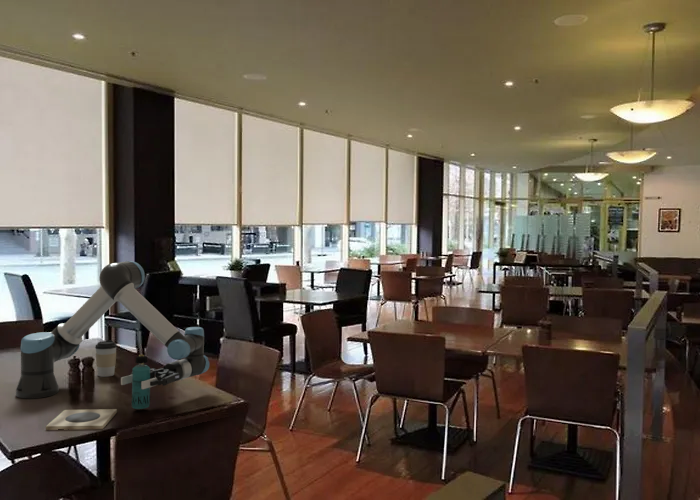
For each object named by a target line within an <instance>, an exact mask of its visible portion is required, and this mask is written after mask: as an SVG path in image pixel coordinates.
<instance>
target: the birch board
mask: <svg viewBox="0 0 700 500" xmlns="http://www.w3.org/2000/svg"><path fill="white" fill-rule="evenodd" d="M117 413H118V409H117V408H112V409H111V408H110V409H109V408H107V409H103V408H102V409H99V408H98V409H97V408H96V409H91V408H90V409H64V410H63V411H61V413H59V414H58V415H57V416H56V417H55V418H54V419H52V420H51V421H50V422H49V423H48V424H47V425H46V426H45V430H46V431H58V429H64V430H65V431H67V430H68V429H69V430H104V428H106V425H108V423H109V422H111V420H112V419H113V418H114V416H115V415H116V414H117ZM64 430H63V431H64Z"/></svg>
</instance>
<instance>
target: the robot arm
mask: <svg viewBox="0 0 700 500" xmlns="http://www.w3.org/2000/svg"><path fill="white" fill-rule="evenodd" d="M145 278H146V276H145V270H144V268H143V266H141V264H139V263H138V262H136V261H130V260H126V261H120V262H112V263H109V264H107V265H105V266H104V267H103V268H102V270H101V271H100V274H99V284H100V287H99V288H98V289H97V290H96V291H95V292H94V293H93V294H92V295H91V296H90V297H89V298H88V299H87V300H86V301H85V303H83V304H82V306H80V308H78V310H77V311H76V312H74V314H73V315H72V316H71V317H70V318H69V319H68V320H67V321H66V322H64V323H63V322H61V323H59V324H58V325H57V326H56V327H55V328H54V329H53V330H52V331H51V332H49V331H48V332H47V331H45V332H44V331H42V332H39V331H38V332H36V333H34V332H33V333H30V334H27V335H25V336H24V337H22V338H21V341H20V377H19V379H18V382H17V383H18V384H17V386H16V389H15V397H17V398H19V399H29V400H30V399H40V398H41V399H42V398H48V397H51V396H52V397H53V396H54V395H56V394H58V393H59V383H58V381H57V378H56V374H55V363H56V362H58V361H61V360H64V359H68V358H70V357H71V356H73V355H74V354H76V352H78V351H79V348H80V344H82V342H83V336H84V335H85V334H86V333H87V332H88V331H89V330H90V329H91V328H92V327H93V326H94V325H95V324H96V323H97V322H98V321H99V320H100V319H101V318H102V317H103V315H104V314H105V313H107V311H108V310H110V309H111V307H112V306H113V305H114V304H115V303H116V302H119V303H120V304H121V305H122V306H123V307H124V308H125V309H127V311H128V312H129V313H131V315H132V316H134V318H136V319H137V320H138V321H139V323H141V325H143V326H144V327H145V328H146V329H147V330H148V331H149V332H150V333H151V334H152V335H153V336H155V338H156V339H157V340H159V341H160V342H161V343H162V344H163V346H165V347H166V352H167V354H168V356H169V357H170V358H171V359H172V360H175V361H172V362H171V361H170V362H168V363H166V364H165V365H164V366H163V368H162V367H161V368H158V369H156V368H154V367H153V368H150V379H149V380H145V381H142V382H141V389H146V388H149V387H150V388H152V387H153V388H154V387H156V386H161V385H162V386H163V387H164V386H168V385H169V384H172V383H176V382H178V381H184V380H185V379H187V378H192V377H195V376H199V375H202V374H203V373H206V372H207V371H208V370H209V369H210V361H209V357H208V356H206V355H205V354H204V353H205V352H204V351H205V350H204V348H205V347H204V346H205V330H204V328H203V327H200V326H190V327H186V328H185V330H184V334H183V333H181V332H180V330H178V329H177V328H176V327H175V326H174V325H173V324H172V323H171V322H170V321H169V320H168V319H167V318H166V317H165V316H164V315H163V314H162V313H161V312H160V311H159V310H158V309H157V308H156V307H155V306H153V304H151V303H150V302H149V301H148V300H147V299H146V297H145V296H143V294H141V293H140V292H139V291H138V290H137V289H138V288H139V287H141V286H142V285H143V283H144V282H145V280H146V279H145ZM132 375H133V371H132V372H131V374H130V375H126V376H122V377H120V385H121V386H125V385H129V384H132Z"/></svg>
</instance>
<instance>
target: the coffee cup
mask: <svg viewBox="0 0 700 500" xmlns="http://www.w3.org/2000/svg"><path fill="white" fill-rule="evenodd" d="M117 347H118V346H117V343H115V341H114V340H113V339H112V340H111V339H108V340H106V341H105V340H103V341H99V342H97V344H95V347H94V348H95V361H96V362H95V363H96V370H97V376H98V377H102V378H103V377H105V378H106V377H112V376H115V369H116V367H115V366H116V362H117V361H116V359H117Z"/></svg>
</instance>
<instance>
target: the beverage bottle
mask: <svg viewBox="0 0 700 500" xmlns="http://www.w3.org/2000/svg"><path fill="white" fill-rule="evenodd" d="M135 363H136V365H135V366H134V367H132V369H131V370H132V372H133V375H132V374H131V375H132V383H131V408H132V409H136V410H140V409H141V410H142V409H147V408H149V407H150V405H151V404H150V403H151V387H149V388H146V389H141V382H142V381H145V380H149V379H150V369H151V368H150V366H148V365H147V364H146V363H148V357H147V356H146V355H144V356H143V355H140V356H139V355H138V356H136V357H135ZM139 363H140V364H141V365H139ZM142 363H144V365H143V364H142Z"/></svg>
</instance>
